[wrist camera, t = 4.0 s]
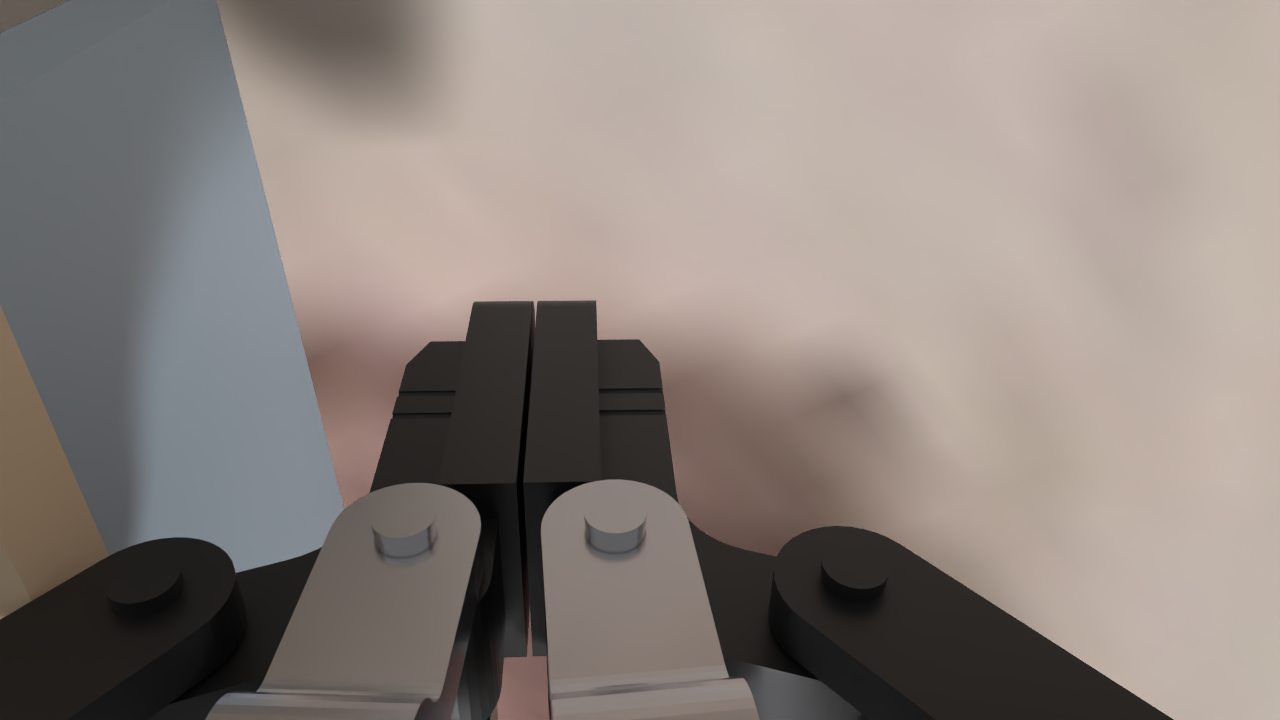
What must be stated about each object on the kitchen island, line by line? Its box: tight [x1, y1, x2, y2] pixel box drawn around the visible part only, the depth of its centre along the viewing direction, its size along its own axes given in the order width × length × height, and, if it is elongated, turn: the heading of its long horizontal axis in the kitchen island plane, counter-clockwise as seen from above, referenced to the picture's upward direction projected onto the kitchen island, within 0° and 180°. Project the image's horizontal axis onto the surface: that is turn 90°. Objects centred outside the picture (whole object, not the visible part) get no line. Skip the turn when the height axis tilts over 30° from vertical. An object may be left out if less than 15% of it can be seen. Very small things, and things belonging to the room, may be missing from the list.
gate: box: [0, 0, 344, 619], centre depth 13 cm, size 15×2×8 cm, turn 2°
